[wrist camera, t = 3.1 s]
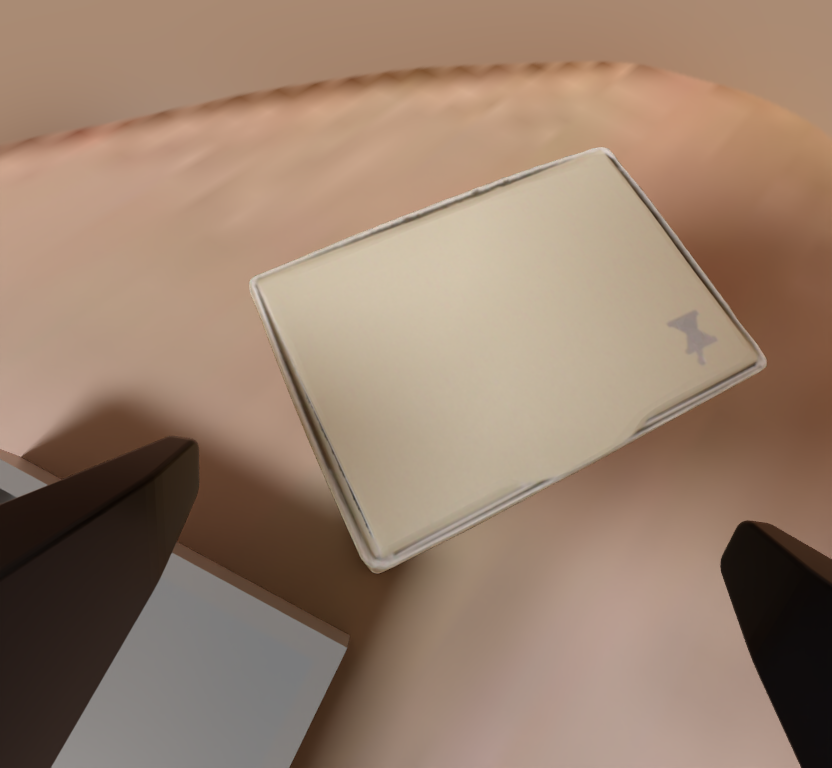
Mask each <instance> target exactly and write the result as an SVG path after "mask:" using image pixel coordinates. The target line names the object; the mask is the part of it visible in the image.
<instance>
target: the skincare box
mask: <svg viewBox="0 0 832 768" xmlns="http://www.w3.org/2000/svg"><path fill="white" fill-rule="evenodd" d="M249 288H250V293H251V296H252V299H253V301H254V304H255V306H256V309H257V311H258V314H259V316H260V319H261V321H262V324H263V327H264V329H265V332H266V335H267V337H268V340H269V343H270V345H271V348H272V350H273V353H274V356H275V358H276V361H277V363H278V366H279V368H280V371H281V374H282V376H283V379H284V381H285V384H286V386H287V389H288V391H289V394H290V396H291V399H292V401H293V404H294V406H295V409H296V411H297V413H298V416H299V418H300V421H301V423H302V426H303V428H304V430H305V433H306V435H307V438H308V440H309V443H310V445H311V447H312V450H313V452H314V454H315V456H316V459H317V461H318V463H319V466H320V468H321V470H322V472H323V475H324V477H325V479H326V482H327V484H328V486H329V489H330V491H331V493H332V495H333V498H334V500H335V502H336V504H337V507H338V509H339V511H340V513H341V515H342V518H343V520H344V522H345V524H346V527H347V529H348V531H349V533H350V535H351V538H352V540H353V542H354V544H355V547H356V549H357V551H358V553H359V555H360V558H361V559H362V560H363V562H364V563H365V564H366V565H367V566H368V568H369V569H370V570H371V571H372V572H373V573H382V572H384V571H386V570H388V569H391V568H393V567H395V566H397V565H399V564H401V563H403V562H405V561H407V560H409V559H411V558H413V557H415V556H417V555H419V554H421V553H423V552H425V551H427V550H429V549H431V548H433V547H435V546H437V545H439V544H441V543H443V542H445V541H447V540H449V539H451V538H453V537H455V536H457V535H459V534H461V533H463V532H465V531H467V530H469V529H471V528H473V527H475V526H477V525H478V524H480V523H482V522H484V521H486V520H488V519H490V518H492V517H494V516H495V515H497V514H499V513H501V512H503V511H505V510H506V509H508V508H510V507H512V506H514V505H516V504H518V503H519V502H521V501H523V500H525V499H527V498H529V497H531V496H532V495H534V494H536V493H538V492H540V491H542V490H544V489H546V488H547V487H549V486H551V485H553V484H555V483H557V482H559V481H561V480H563V479H564V478H566V477H568V476H570V475H572V474H574V473H576V472H578V471H579V470H581V469H583V468H585V467H587V466H589V465H591V464H593V463H595V462H596V461H598V460H600V459H602V458H604V457H606V456H607V455H609V454H611V453H613V452H615V451H616V450H618V449H620V448H622V447H624V446H625V445H627V444H629V443H631V442H633V441H635V440H636V439H638V438H640V437H642V436H644V435H646V434H647V433H649V432H651V431H653V430H655V429H657V428H658V427H660V426H662V425H664V424H666V423H667V422H669V421H671V420H673V419H675V418H677V417H678V416H680V415H682V414H684V413H686V412H688V411H689V410H691V409H693V408H695V407H697V406H699V405H700V404H702V403H704V402H706V401H708V400H710V399H711V398H713V397H715V396H717V395H719V394H721V393H723V392H724V391H726V390H728V389H730V388H732V387H734V386H735V385H737V384H739V383H741V382H743V381H745V380H746V379H748V378H750V377H752V376H753V375H755V374H757V373H759V372H760V371H761V370H763V369H764V368H765V367H766V366H767V358H766V357H765V355H764V354H763V352H762V351H761V349H760V348H759V346H758V345H757V343H756V342H755V341H754V339H753V338H752V337H751V336H750V335H749V333H748V332H747V331H746V330H745V328H744V327H743V326H742V325H741V323H740V322H739V321H738V320H737V318H736V316H735V315H734V313H733V312H732V310H731V308H730V307H729V305H728V304H727V303H726V301H725V300H724V299H723V298H722V297H721V295H720V294H719V292H718V291H717V290H716V288H715V287H714V285H713V284H712V283H711V281H710V280H709V278H708V277H707V276H706V274H705V273H704V272H703V270H702V269H701V268H700V266H699V265H698V264H697V262H696V261H695V260H694V258H693V257H692V256H691V254H690V253H689V251H688V250H687V249H686V248H685V246H684V245H683V243H682V242H681V241H680V239H679V238H678V236H677V235H676V234H675V232H674V231H673V230H672V228H671V227H670V226H669V224H668V223H667V222H666V220H665V219H664V218H663V217H662V215H661V214H660V212H659V211H658V210H657V208H656V207H655V206H654V204H653V203H652V202H651V200H650V199H649V198H648V197H647V195H646V194H645V193H644V192H643V190H642V189H641V188H640V186H639V185H638V184H637V183H636V182H635V181H634V180H633V179H632V178H631V177H630V175H629V174H628V172H627V171H626V170H625V169H624V168H623V167H622V165H621V164H620V163H619V161H618V160H617V158H616V157H615V155H614V154H613V153H612V152H611V151H610V150H609V149H608V148H605V147H598V148H593V149H590V150H587V151H585V152H582V153H578V154H575V155H570V156H566V157H564V158H561V159H558V160H555V161H553V162H550V163H546V164H543V165H539V166H536V167H534V168H531V169H528V170H525V171H522V172H519V173H516V174H514V175H511V176H508V177H504V178H501V179H499V180H496V181H494V182H491V183H489V184H486V185H483V186H480V187H477V188H475V189H472V190H470V191H467V192H465V193H463V194H460V195H457V196H454V197H451V198H448V199H446V200H443V201H440V202H438V203H435V204H433V205H430V206H428V207H425V208H422V209H420V210H417V211H415V212H412V213H409V214H407V215H404V216H402V217H399V218H397V219H394V220H391V221H389V222H386V223H383V224H381V225H379V226H377V227H374V228H372V229H369V230H366V231H363V232H361V233H358V234H355V235H353V236H350V237H348V238H346V239H343V240H341V241H339V242H336V243H334V244H332V245H329V246H327V247H325V248H322V249H319V250H316V251H314V252H311V253H309V254H307V255H305V256H302V257H300V258H298V259H296V260H293V261H291V262H288V263H286V264H283V265H281V266H278V267H276V268H273V269H271V270H268V271H266V272H263V273H261V274H258V275H255V276H254V277H253V278H252V279H251V280H250V282H249Z"/></svg>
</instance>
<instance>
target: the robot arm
mask: <svg viewBox="0 0 832 768" xmlns="http://www.w3.org/2000/svg"><path fill="white" fill-rule="evenodd" d="M198 488H199V447H198V443H197V442H196V441H195V440H194V439H190V438H183V437H176V436H169V437H166V438H164V439H161V440H159V441H156V442H154V443H151V444H149V445H146V446H144V447H141V448H139V449H136V450H134V451H131V452H129V453H126V454H124V455H121V456H119V457H116V458H114V459H111V460H109V461H107V462H104V463H102V464H99V465H97V466H94V467H92V468H89V469H87V470H84V471H82V472H79V473H77V474H74V475H72V476H69V477H67V478H64V479H62V480H59V481H57V482H54V483H52V484H49V485H47V486H44V487H42V488H39V489H37V490H35V491H32V492H30V493H27V494H25V495H22V496H20V497H17V498H15V499H12V500H10V501H7V502H5V503H2V504H0V768H51V767H52V765H53V764H54V762H55V760H56V758H57V757H58V755H59V753H60V751H61V750H62V748H63V746H64V745H65V743H66V741H67V739H68V738H69V736H70V734H71V733H72V731H73V729H74V727H75V726H76V724H77V722H78V720H79V719H80V717H81V715H82V714H83V712H84V710H85V708H86V707H87V705H88V703H89V702H90V700H91V698H92V696H93V695H94V693H95V691H96V689H97V688H98V686H99V684H100V683H101V681H102V679H103V677H104V676H105V674H106V672H107V671H108V669H109V667H110V665H111V664H112V662H113V660H114V658H115V657H116V655H117V653H118V652H119V650H120V648H121V646H122V645H123V643H124V641H125V640H126V638H127V636H128V634H129V633H130V631H131V629H132V627H133V626H134V624H135V622H136V621H137V619H138V617H139V615H140V614H141V612H142V610H143V609H144V607H145V605H146V603H147V602H148V600H149V598H150V596H151V595H152V593H153V591H154V589H155V587H156V586H157V584H158V582H159V580H160V578H161V576H162V574H163V572H164V569H165V567H166V565H167V563H168V561H169V558H170V556H171V554H172V551H173V549H174V547H175V544H176V542H177V540H178V538H179V535H180V533H181V531H182V528H183V526H184V524H185V522H186V519H187V517H188V515H189V512H190V510H191V508H192V505H193V503H194V501H195V498H196V496H197V493H198ZM720 567H721V573H722V576H723V579H724V582H725V585H726V588H727V590H728V593H729V596H730V599H731V602H732V605H733V608H734V611H735V613H736V616H737V619H738V622H739V625H740V628H741V631H742V633H743V636H744V639H745V642H746V645H747V648H748V650H749V653H750V656H751V658H752V661H753V663H754V665H755V668H756V670H757V672H758V675H759V677H760V679H761V681H762V683H763V686H764V688H765V690H766V692H767V694H768V697H769V699H770V701H771V703H772V705H773V707H774V710H775V712H776V714H777V716H778V718H779V721H780V723H781V725H782V727H783V729H784V731H785V734H786V736H787V738H788V740H789V742H790V745H791V747H792V749H793V751H794V753H795V755H796V758H797V760H798V762H799V764H800V766H801V768H832V559H830V558H828V557H827V556H825V555H823V554H821V553H820V552H818V551H816V550H815V549H813V548H811V547H809V546H808V545H806V544H804V543H803V542H801V541H799V540H797V539H796V538H794V537H792V536H791V535H789V534H787V533H785V532H784V531H782V530H780V529H779V528H777V527H775V526H773V525H771V524H768V523H763V522H756V521H748V520H747V521H743V522H741V523H740V524H739V525H738V526H737V528H736V530H735V532H734V534H733V536H732V538H731V540H730V542H729V544H728V546H727V547H726V549H725V551H724V553H723V555H722V558H721V565H720Z"/></svg>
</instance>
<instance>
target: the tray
mask: <svg viewBox="0 0 832 768" xmlns="http://www.w3.org/2000/svg"><path fill="white" fill-rule="evenodd" d="M59 480H62V479H60V478H58V477H57V476H55V475H53V474H51V473H49V472H47V471H45V470H44V469H42V468H40V467H38V466H36V465H34V464H33V463H31V462H29V461H27V460H25V459H23V458H21V457H20V456H17V455H14V454H12V453H9V452H6V451H4V450H1V449H0V504H2V503H5V502H7V501H10V500H12V499H15V498H17V497H20V496H22V495H25V494H27V493H30V492H32V491H35V490H37V489H39V488H42V487H44V486H47V485H49V484H52V483H54V482H57V481H59ZM349 638H350V635H348V634H346V633H344V632H343V631H341V630H339V629H337V628H335V627H333V626H332V625H330V624H328V623H326V622H324V621H322V620H320V619H319V618H317V617H315V616H313V615H311V614H309V613H308V612H306V611H304V610H302V609H300V608H298V607H296V606H295V605H293V604H291V603H289V602H287V601H285V600H284V599H282V598H280V597H278V596H276V595H274V594H272V593H271V592H269V591H267V590H265V589H263V588H261V587H260V586H258V585H256V584H254V583H252V582H250V581H248V580H247V579H245V578H243V577H241V576H239V575H237V574H236V573H234V572H232V571H230V570H228V569H226V568H224V567H223V566H221V565H219V564H217V563H215V562H213V561H212V560H210V559H208V558H206V557H204V556H202V555H201V554H199V553H197V552H195V551H193V550H191V549H189V548H188V547H186V546H184V545H182V544H180V543H178V542H176V544H175V547H174V549H173V551H172V554H171V556H170V558H169V561H168V563H167V565H166V567H165V569H164V572H163V574H162V576H161V578H160V580H159V582H158V584H157V586H156V587H155V589H154V591H153V593H152V595H151V596H150V598H149V600H148V602H147V603H146V605H145V607H144V609H143V610H142V612H141V614H140V615H139V617H138V619H137V621H136V622H135V624H134V626H133V627H132V629H131V631H130V633H129V634H128V636H127V638H126V640H125V641H124V643H123V645H122V646H121V648H120V650H119V652H118V653H117V655H116V657H115V658H114V660H113V662H112V664H111V665H110V667H109V669H108V671H107V672H106V674H105V676H104V677H103V679H102V681H101V683H100V684H99V686H98V688H97V689H96V691H95V693H94V695H93V696H92V698H91V700H90V702H89V703H88V705H87V707H86V708H85V710H84V712H83V714H82V715H81V717H80V719H79V720H78V722H77V724H76V726H75V727H74V729H73V731H72V733H71V734H70V736H69V738H68V739H67V741H66V743H65V745H64V746H63V748H62V750H61V751H60V753H59V755H58V757H57V758H56V760H55V762H54V764H53V765H52V767H51V768H289V767H290V765H291V763H292V761H293V759H294V757H295V755H296V753H297V751H298V748H299V746H300V744H301V742H302V740H303V738H304V736H305V734H306V732H307V730H308V728H309V726H310V724H311V722H312V720H313V718H314V716H315V713H316V711H317V709H318V707H319V705H320V703H321V701H322V699H323V697H324V695H325V693H326V691H327V689H328V687H329V685H330V683H331V680H332V678H333V676H334V674H335V672H336V670H337V668H338V666H339V664H340V662H341V660H342V658H343V656H344V654H345V652H346V650H347V647H348V642H349Z"/></svg>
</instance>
